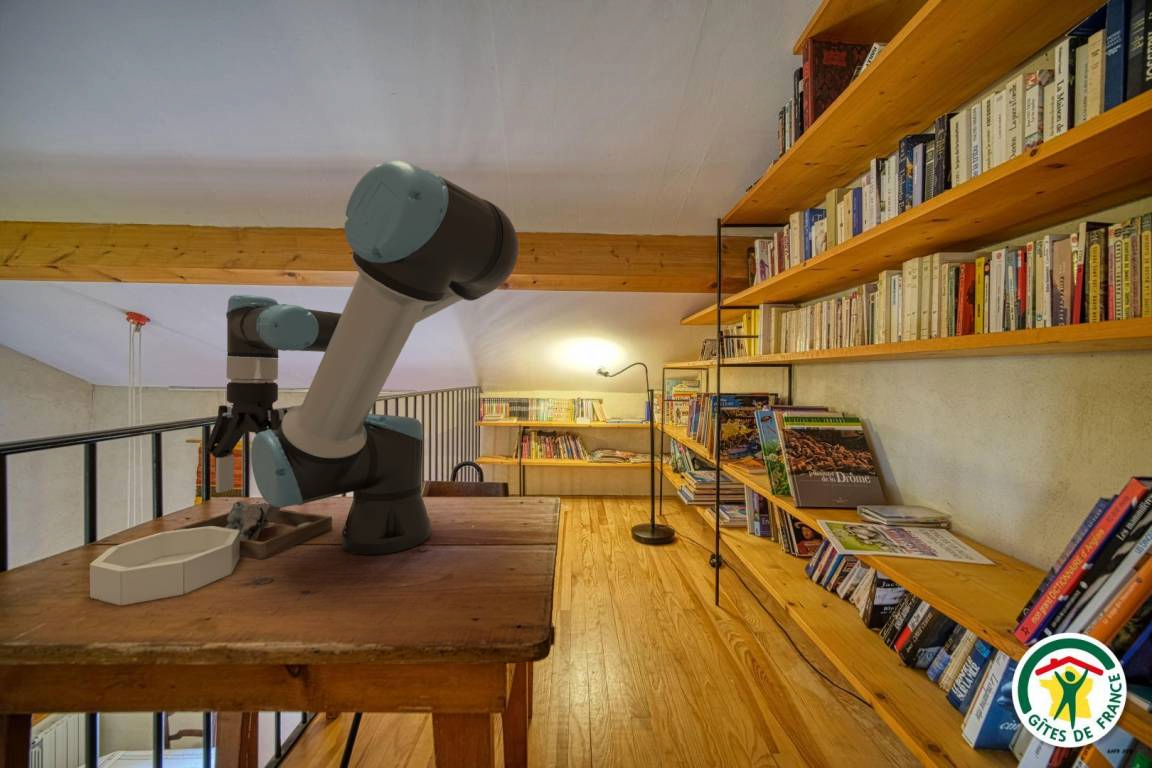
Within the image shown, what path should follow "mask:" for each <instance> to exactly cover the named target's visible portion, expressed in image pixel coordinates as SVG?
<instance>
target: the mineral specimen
mask: <svg viewBox="0 0 1152 768" xmlns="http://www.w3.org/2000/svg"><path fill="white" fill-rule="evenodd" d="M280 509H281V508H278V507H274V506H271V505H269V504H268V503H267V502H262V503H251V504H250V503H248V502H246V500H245V501H244V500H238V501H236V502H234V503H233V504H232V508H231V509H230V514H229V516H228V518H227V520H228V522H229V525H227V526H226V527H225V528H228V529H234V530H239V531H240V538H242V539H248V540H253V541H258V537H259V535H260V533H261V531H263V530H264V529H265V528H267V527H268V526H269V524H270V523H271V522H270V521H271V519H272V518H273V517H275V515H277V514H278V512H279V510H280Z"/></svg>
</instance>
